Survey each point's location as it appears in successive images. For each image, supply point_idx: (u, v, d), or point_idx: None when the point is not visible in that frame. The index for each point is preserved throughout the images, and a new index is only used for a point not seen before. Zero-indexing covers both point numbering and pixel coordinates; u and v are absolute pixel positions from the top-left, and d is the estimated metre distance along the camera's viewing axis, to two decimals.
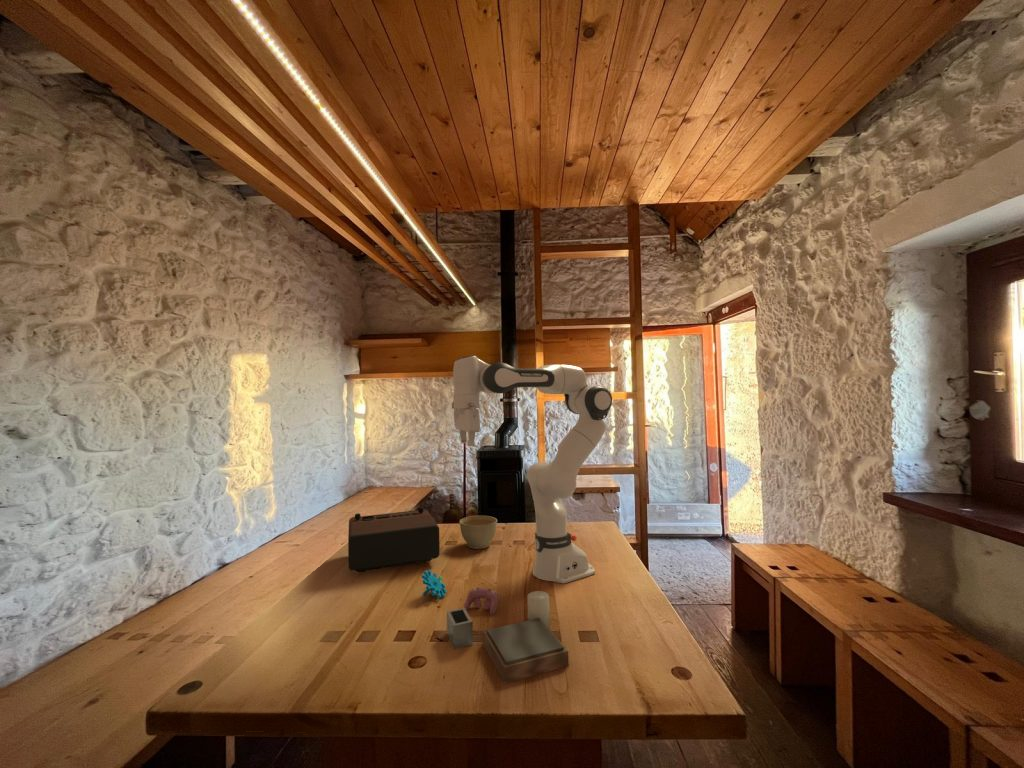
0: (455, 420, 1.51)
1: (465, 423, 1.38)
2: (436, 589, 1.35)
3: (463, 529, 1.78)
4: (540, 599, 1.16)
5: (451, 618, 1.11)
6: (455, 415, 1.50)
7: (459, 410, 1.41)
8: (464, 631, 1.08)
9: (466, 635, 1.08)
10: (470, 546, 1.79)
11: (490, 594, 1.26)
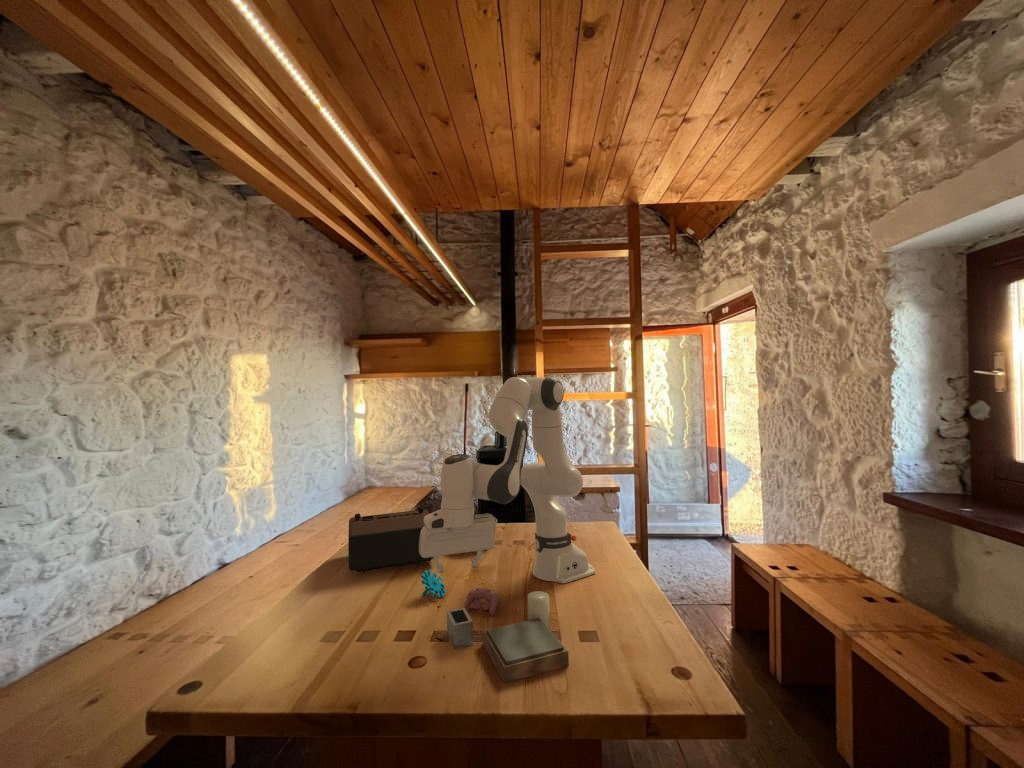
0: (426, 545, 1.08)
1: (477, 540, 1.13)
2: (435, 589, 1.35)
3: None
4: (540, 599, 1.16)
5: (451, 618, 1.11)
6: (429, 538, 1.08)
7: (464, 527, 1.11)
8: (464, 631, 1.08)
9: (466, 635, 1.08)
10: None
11: (490, 595, 1.26)
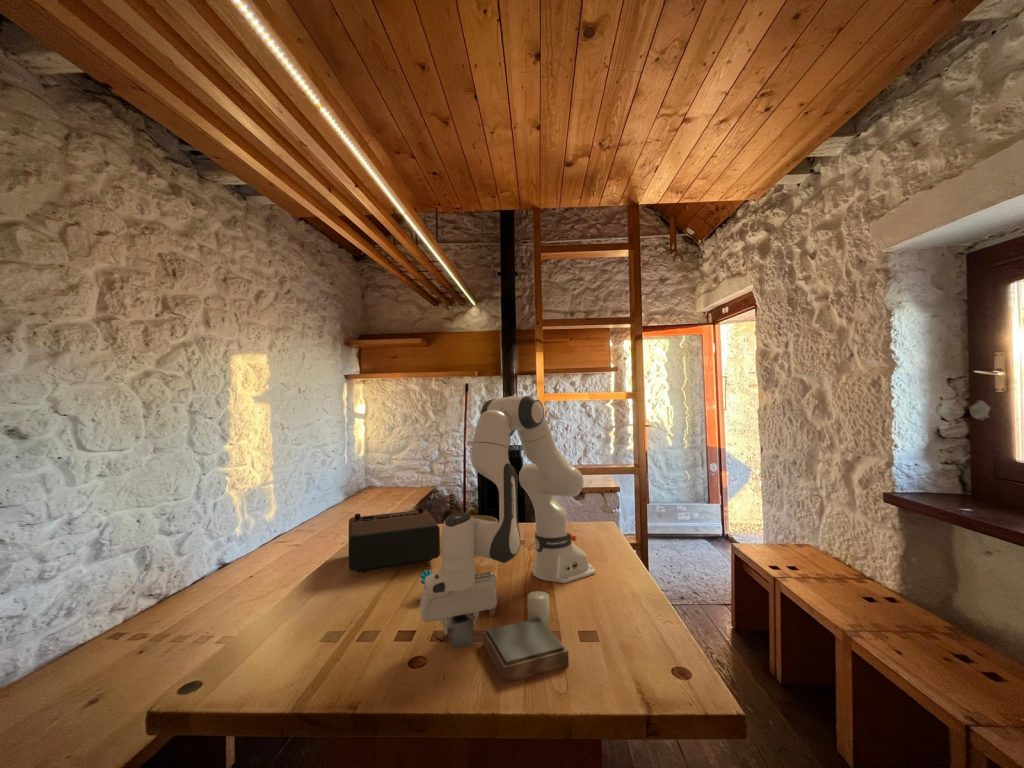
0: (427, 610, 1.07)
1: (479, 601, 1.12)
2: None
3: None
4: (540, 599, 1.16)
5: (451, 618, 1.11)
6: (431, 602, 1.07)
7: (466, 589, 1.10)
8: (464, 631, 1.08)
9: (466, 635, 1.08)
10: None
11: None
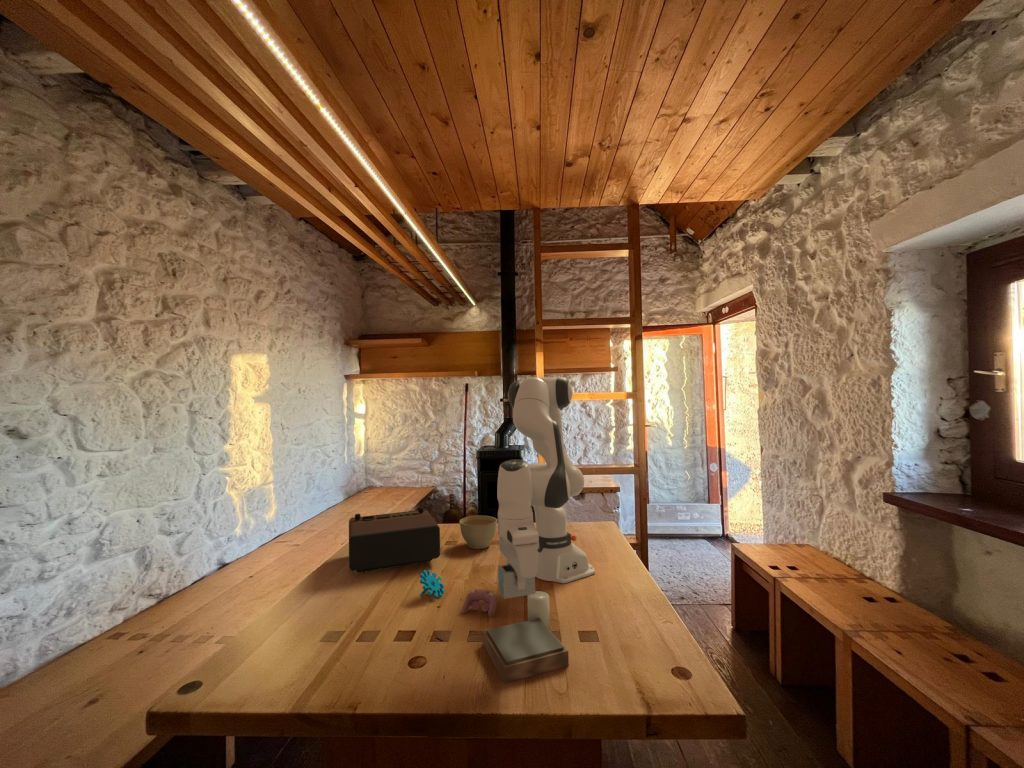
0: None
1: None
2: (433, 589, 1.35)
3: (463, 529, 1.78)
4: (540, 599, 1.16)
5: None
6: None
7: None
8: None
9: None
10: (470, 546, 1.79)
11: (489, 596, 1.25)
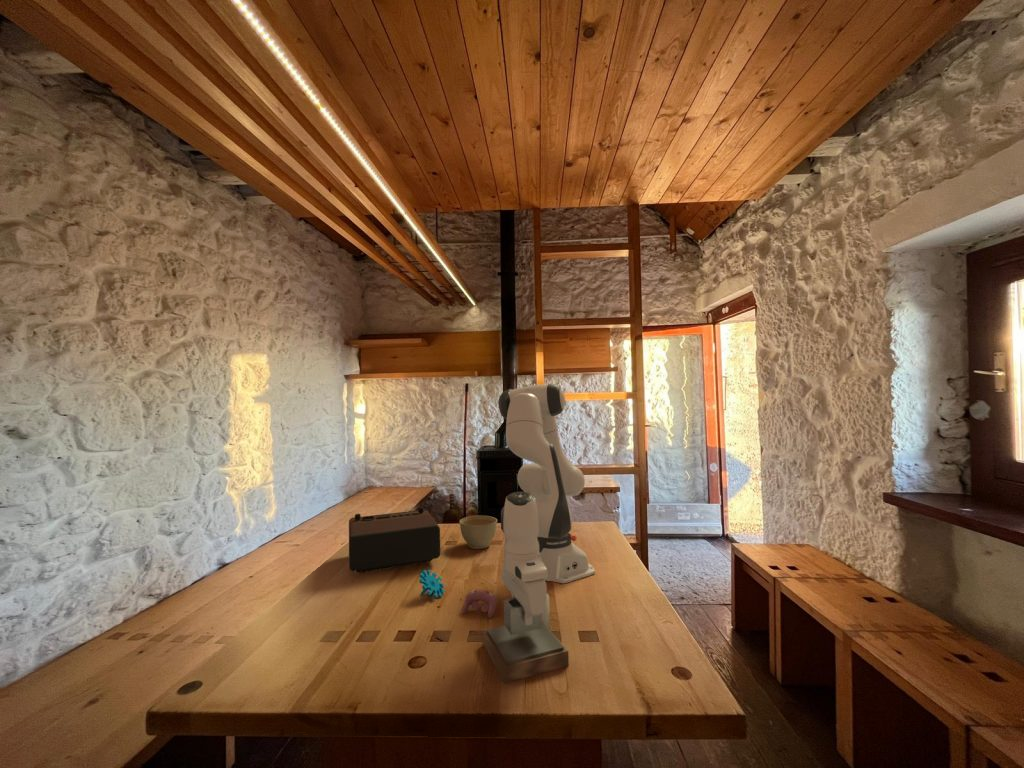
0: None
1: None
2: (433, 589, 1.35)
3: (463, 529, 1.78)
4: None
5: None
6: None
7: None
8: None
9: None
10: (470, 546, 1.79)
11: (488, 597, 1.25)
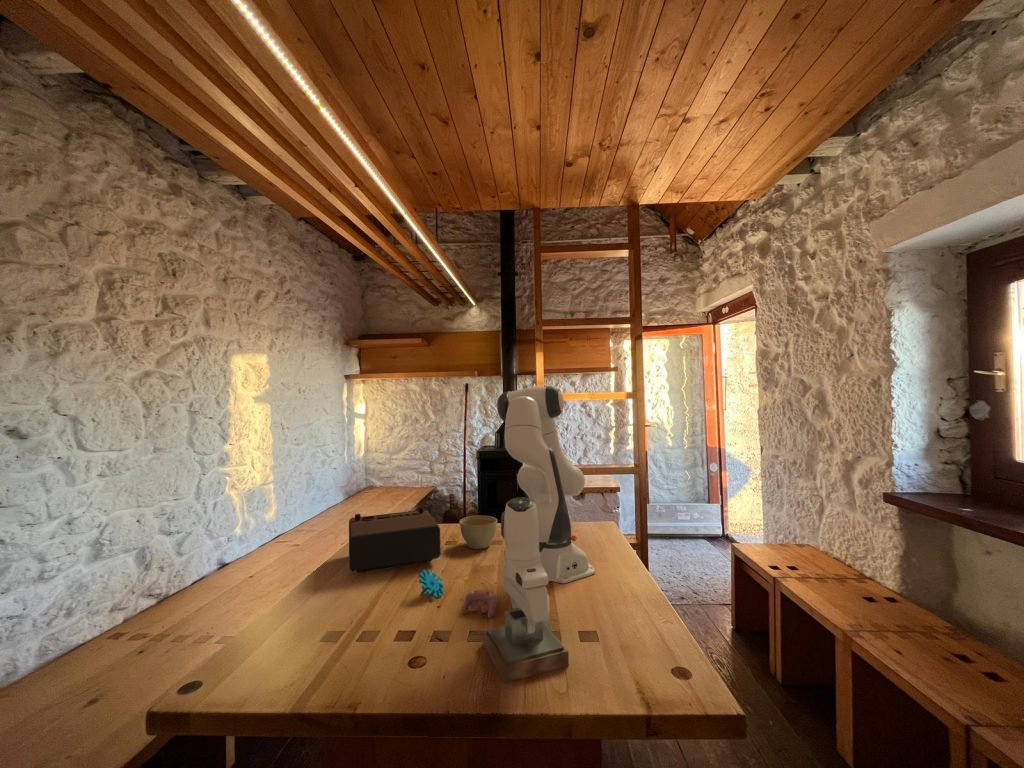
0: None
1: None
2: (432, 589, 1.35)
3: (463, 529, 1.78)
4: None
5: None
6: None
7: None
8: None
9: None
10: (470, 546, 1.79)
11: (488, 597, 1.25)
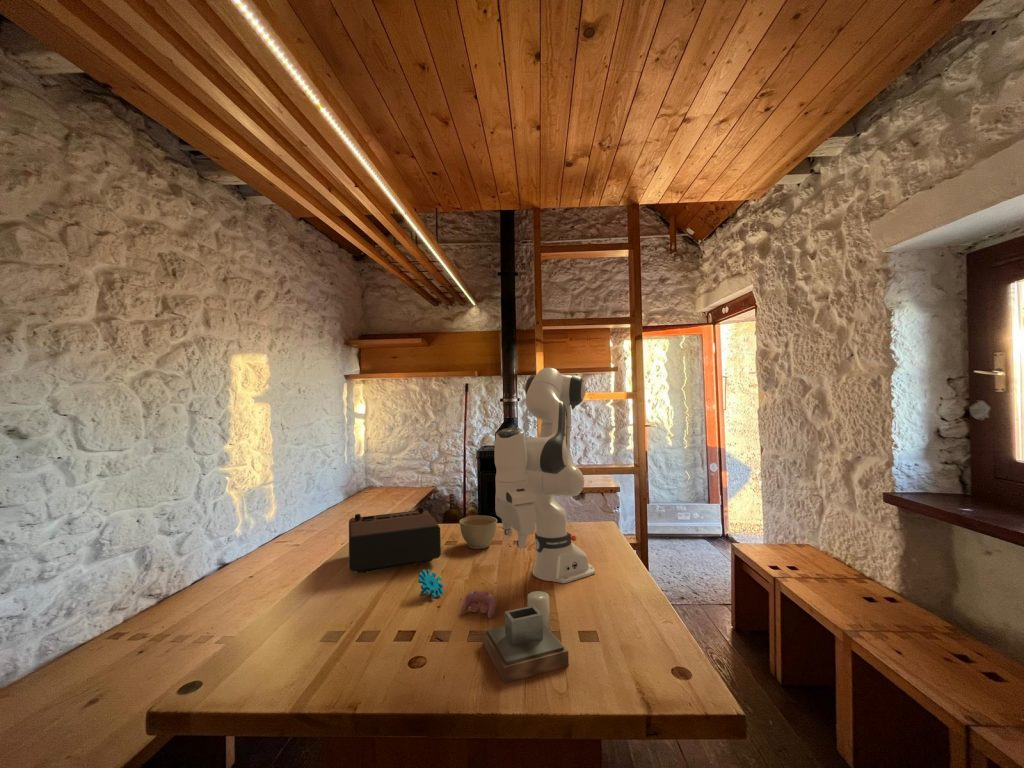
0: None
1: None
2: (431, 589, 1.35)
3: (463, 529, 1.78)
4: (540, 599, 1.16)
5: (527, 616, 1.03)
6: None
7: None
8: None
9: None
10: (470, 546, 1.79)
11: (488, 598, 1.24)
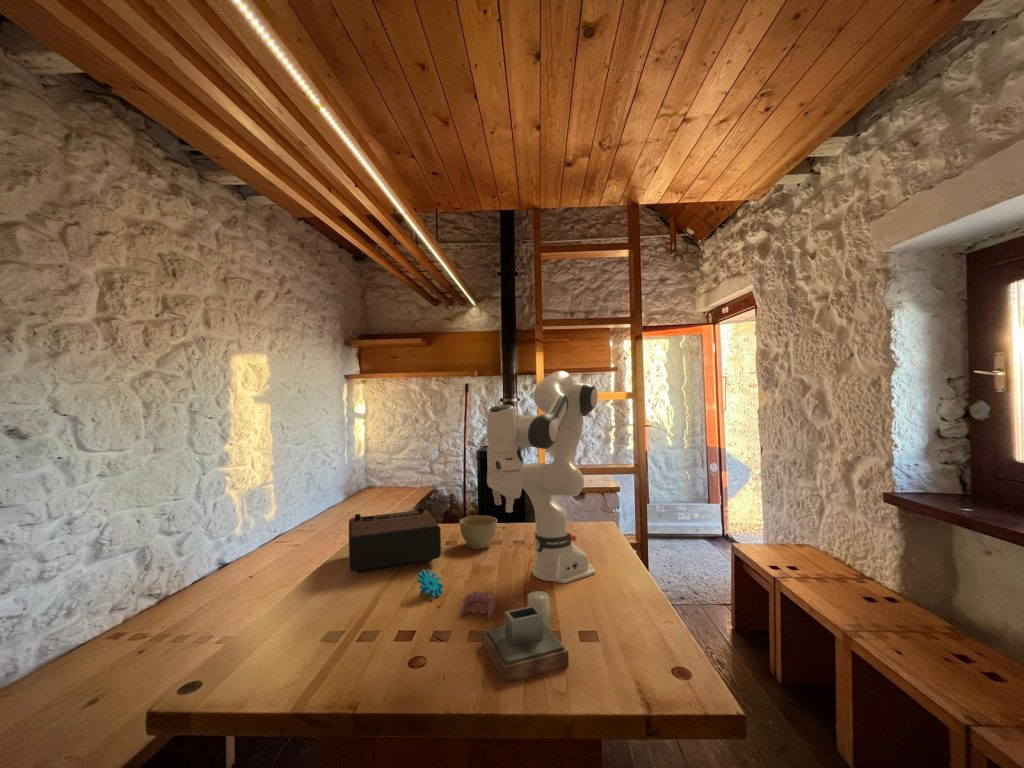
0: None
1: None
2: (431, 588, 1.35)
3: (463, 529, 1.78)
4: (540, 599, 1.16)
5: (527, 616, 1.03)
6: None
7: None
8: None
9: None
10: (470, 546, 1.79)
11: (487, 598, 1.24)
